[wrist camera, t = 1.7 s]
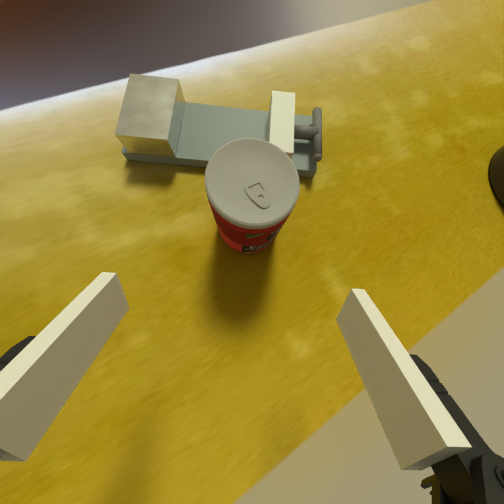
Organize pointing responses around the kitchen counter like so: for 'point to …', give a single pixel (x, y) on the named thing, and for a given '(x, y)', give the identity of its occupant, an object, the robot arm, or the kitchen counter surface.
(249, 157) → the canned food
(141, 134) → the block
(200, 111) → the vise base
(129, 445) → the kitchen counter surface
